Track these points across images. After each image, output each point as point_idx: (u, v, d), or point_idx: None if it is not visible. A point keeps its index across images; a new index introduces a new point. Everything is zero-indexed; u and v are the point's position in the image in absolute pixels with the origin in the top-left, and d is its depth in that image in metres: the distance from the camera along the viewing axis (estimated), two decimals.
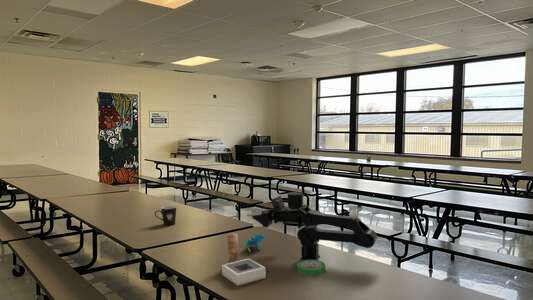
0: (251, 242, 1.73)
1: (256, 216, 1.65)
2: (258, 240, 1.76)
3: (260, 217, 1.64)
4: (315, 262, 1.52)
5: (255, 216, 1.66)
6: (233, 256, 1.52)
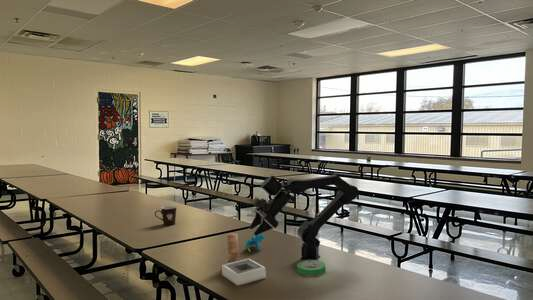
0: (251, 242, 1.73)
1: (258, 229, 1.50)
2: (258, 240, 1.76)
3: (262, 226, 1.50)
4: (315, 262, 1.52)
5: (257, 230, 1.50)
6: (233, 256, 1.52)
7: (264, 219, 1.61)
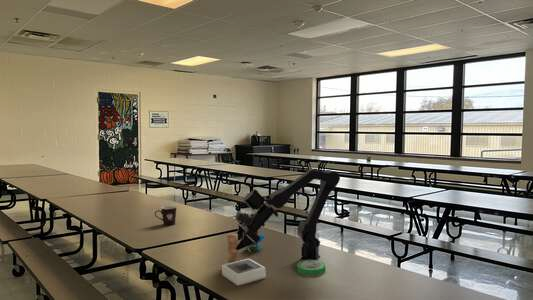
0: None
1: (240, 244, 1.48)
2: None
3: (244, 241, 1.48)
4: (315, 262, 1.52)
5: (239, 245, 1.49)
6: (233, 256, 1.52)
7: None
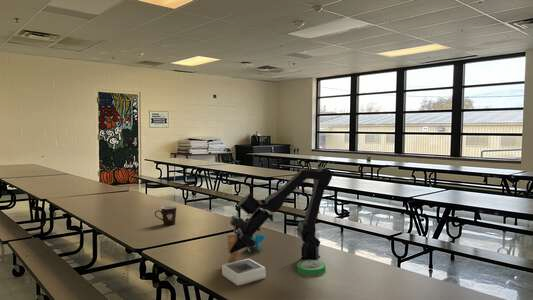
0: None
1: (234, 247, 1.50)
2: (258, 240, 1.75)
3: (238, 244, 1.50)
4: (315, 262, 1.52)
5: (233, 248, 1.50)
6: (233, 256, 1.52)
7: None
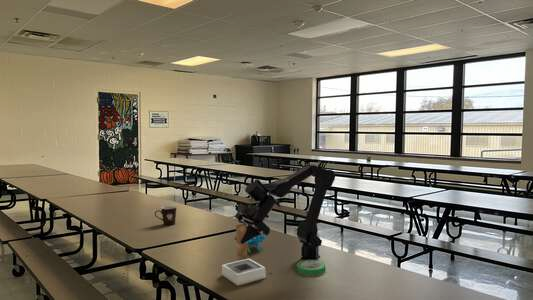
0: (251, 242, 1.73)
1: (245, 237, 1.40)
2: (259, 241, 1.75)
3: (250, 233, 1.41)
4: (315, 262, 1.52)
5: (244, 238, 1.40)
6: (243, 247, 1.42)
7: None
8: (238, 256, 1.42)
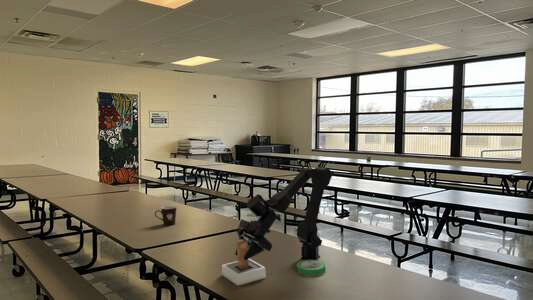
0: None
1: (248, 253, 1.39)
2: None
3: (253, 249, 1.40)
4: (315, 262, 1.52)
5: (247, 255, 1.39)
6: (245, 264, 1.41)
7: (249, 243, 1.48)
8: None
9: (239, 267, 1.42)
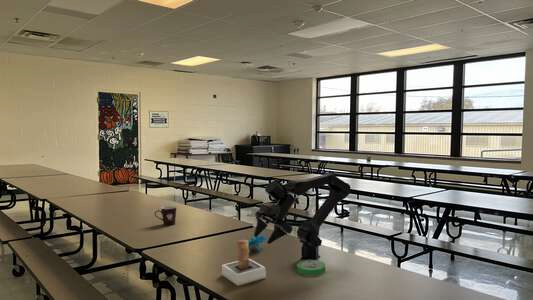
0: (251, 243, 1.72)
1: (272, 237, 1.44)
2: (259, 241, 1.74)
3: (276, 233, 1.45)
4: (315, 262, 1.52)
5: (271, 239, 1.44)
6: (245, 264, 1.41)
7: (266, 224, 1.55)
8: None
9: (239, 267, 1.42)
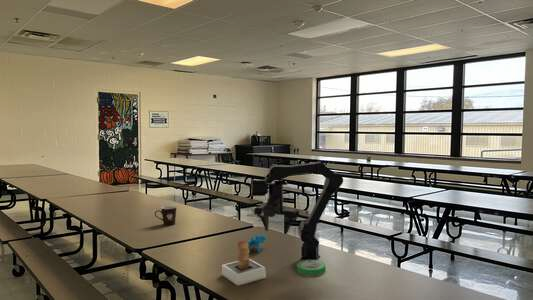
0: (251, 243, 1.72)
1: (287, 227, 1.56)
2: (259, 241, 1.74)
3: (288, 222, 1.56)
4: (315, 262, 1.52)
5: (287, 229, 1.56)
6: (245, 264, 1.41)
7: None
8: None
9: (239, 267, 1.42)
